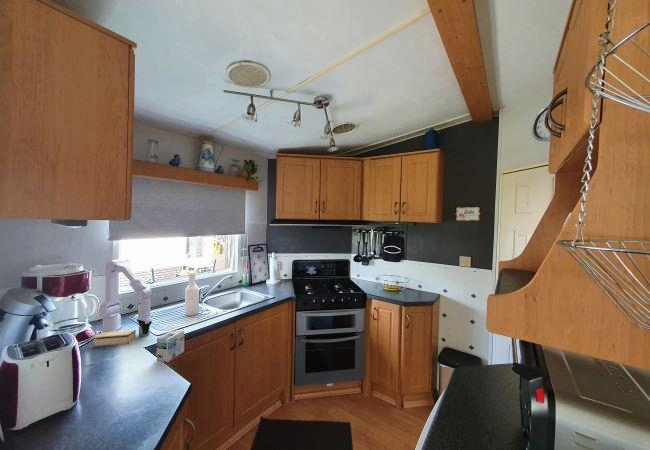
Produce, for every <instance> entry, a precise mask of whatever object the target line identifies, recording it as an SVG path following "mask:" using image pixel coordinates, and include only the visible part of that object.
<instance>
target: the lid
mask: <svg viewBox="0 0 650 450" xmlns="http://www.w3.org/2000/svg"><path fill="white" fill-rule="evenodd" d="M135 331H136V332H137V330H136V329H130V330H129V329H128V330H119V331H118V330H117V331H115V332H103V333H98V334H97V335H94V336H93V339H95V338H101V337H113V336H126V335H130V334H131V333H133V332H135Z"/></svg>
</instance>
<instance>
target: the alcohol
mask: <svg viewBox="0 0 650 450" xmlns="http://www.w3.org/2000/svg"><path fill="white" fill-rule="evenodd" d="M184 294H185V295H184V315H185V316H187V317H192V316H193V317H194V316H197V315H198V314H199V313H200V288H199V286H198V285H197V282H196V272H195V271H190V272H188V285H187V286H186V288H185V291H184Z"/></svg>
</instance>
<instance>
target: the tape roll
mask: <svg viewBox="0 0 650 450" xmlns="http://www.w3.org/2000/svg"><path fill="white" fill-rule="evenodd" d="M150 330H151V327H149V331H148V334H144V335H143V332H142V327H141V326H138V337H139V338H143V337H147V336H149V335H150V334H151V332H150Z"/></svg>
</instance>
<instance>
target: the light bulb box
mask: <svg viewBox="0 0 650 450" xmlns="http://www.w3.org/2000/svg"><path fill="white" fill-rule="evenodd" d="M184 352H185V330H181V329H180V330H179V329H172V330H170V331H168V332H166V333H164V334H162V335H160V336H159V337H156V361H159V360H160V362H166V363H168V362H170V361H171V360H173V359H175V358H176V357H178V356H180V355H181V354H182V353H184Z"/></svg>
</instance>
